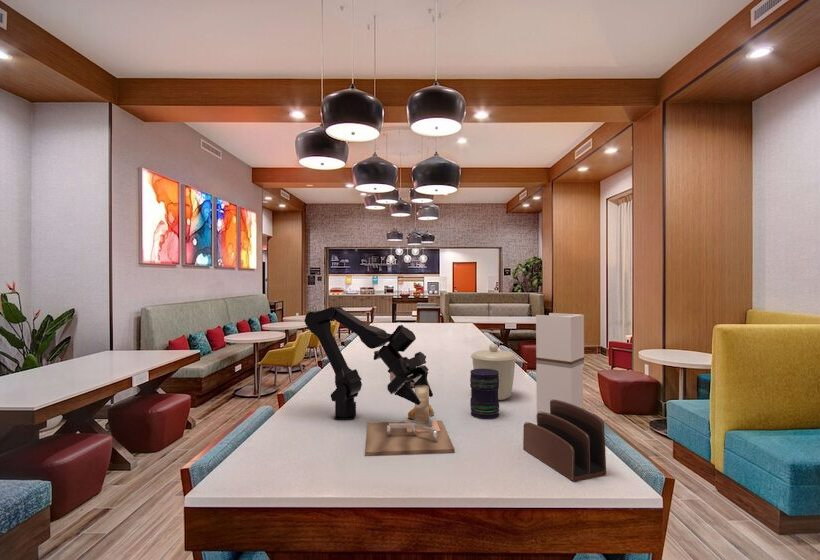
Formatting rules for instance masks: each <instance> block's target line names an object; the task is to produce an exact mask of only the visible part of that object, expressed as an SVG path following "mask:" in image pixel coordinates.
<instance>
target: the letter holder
mask: <svg viewBox="0 0 820 560" xmlns="http://www.w3.org/2000/svg"><path fill="white" fill-rule="evenodd" d="M605 436H606V435H605V423H604V421H603V419H602V418H600V417H599V416H597V415H595V414H594V413H592V412H590V411H588V410H586V409H584V408H583V409H582V408H580V407H578V406H575V405H572V404H569V403H566V402H563V401H559V400H553V399H552V400H551V401H550V414H549V413H546V412H541V411H539V412H538V413H537V412H536V424H534V423H533V422H530V421H529V422H528V421H525V422H524V423H523V434H522V437H523V438H522V441H523V442H522V445H523V446H522V448H523V450H524V451H525V452H527V453H528V454H530V455H532V456H533V457H534V458H536V459H537V460H539V461H540V462H542V463H544V464H545V465H547V466H549V468H552V469H553V470H554V471H557V472H558V473H559V474H560V475H562V476H564V477H565V478H567V479H568V480H570V481H572V483H573V482H578V481H583V480H588V479H593V478H598V477H602V476H606V475H607V459H606V458H607V456H606V455H607V454H606V437H605Z"/></svg>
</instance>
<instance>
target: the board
mask: <svg viewBox="0 0 820 560" xmlns="http://www.w3.org/2000/svg"><path fill="white" fill-rule="evenodd" d="M436 421H437V423H438V426H439V428H440V432H438V433H437V442H436V443H434V442H433V433H416V436H415V437H414V436H412V433H407V430H406V428H391V437H387V425H389V424H390V423H405V421H385V422H383V421H381V422H380V421H379V422H377V421H376V422H367V427H366V435H365V436H366V437H365V438H366V439H365V448H364V456H365V457H373V456H399V455H401V456H402V455H403V456H404V454H405V455H426V454H427V455H428V454H429V455H431V454H454V453H455V447H454V444H453V443H452V440H451V438H450V435H449V433H448V431H447V429H446V427H445V424H444V422H443V420H436Z"/></svg>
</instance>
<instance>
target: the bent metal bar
mask: <svg viewBox="0 0 820 560" xmlns="http://www.w3.org/2000/svg"><path fill="white" fill-rule="evenodd" d="M391 428H412V436H414V437H415V436H416V429H420V430H423V431H427V432H431V433H433V442H434V443H436V442H437V431H436V429H435V428H431V427H427V426H423V425H420V424H416V423H415V424H414V423H390V424H389V425H387V437H391Z"/></svg>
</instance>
